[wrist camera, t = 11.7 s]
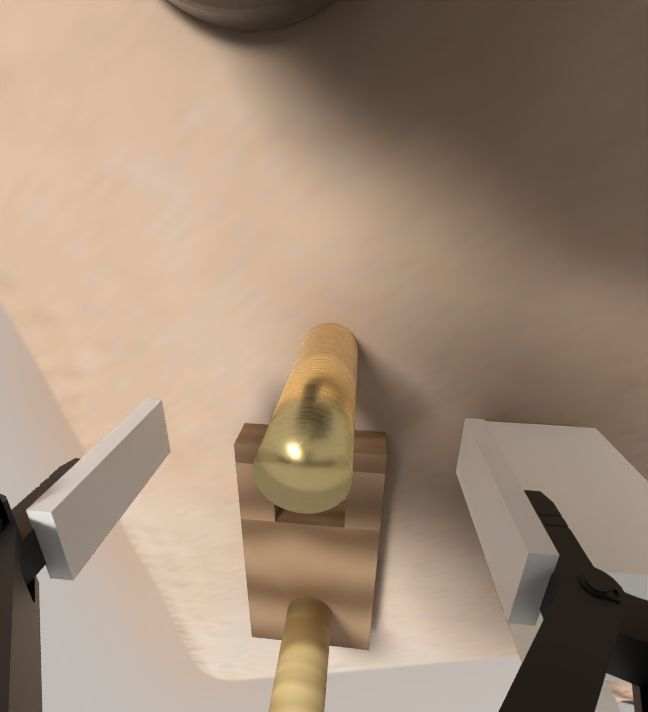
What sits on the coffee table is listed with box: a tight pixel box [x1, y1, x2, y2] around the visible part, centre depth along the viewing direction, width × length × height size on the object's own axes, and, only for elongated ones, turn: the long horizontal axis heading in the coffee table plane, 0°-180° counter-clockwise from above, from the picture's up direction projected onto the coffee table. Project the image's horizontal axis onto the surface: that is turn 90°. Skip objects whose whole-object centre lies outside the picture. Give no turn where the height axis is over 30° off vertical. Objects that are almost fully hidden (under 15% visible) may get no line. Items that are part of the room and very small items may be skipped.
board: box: [234, 423, 387, 712], centre depth 26 cm, size 20×10×12 cm, turn 179°
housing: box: [486, 421, 648, 683], centre depth 22 cm, size 7×7×11 cm
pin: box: [253, 323, 358, 514], centre depth 19 cm, size 4×4×12 cm
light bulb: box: [595, 680, 635, 712], centre depth 26 cm, size 7×7×12 cm
